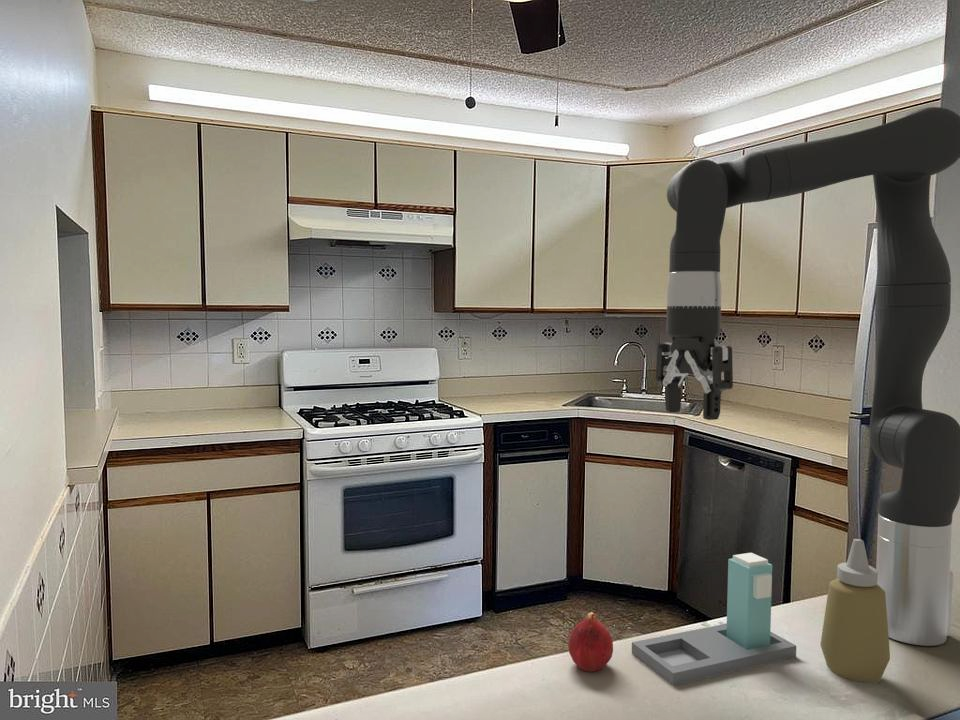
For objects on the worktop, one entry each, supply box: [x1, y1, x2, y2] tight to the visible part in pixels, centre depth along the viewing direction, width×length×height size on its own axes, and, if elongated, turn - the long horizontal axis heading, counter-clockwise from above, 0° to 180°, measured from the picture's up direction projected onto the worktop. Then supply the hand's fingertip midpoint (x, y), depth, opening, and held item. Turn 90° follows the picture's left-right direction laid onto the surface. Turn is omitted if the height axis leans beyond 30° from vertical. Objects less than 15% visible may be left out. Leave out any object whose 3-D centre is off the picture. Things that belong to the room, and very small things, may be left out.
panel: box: [631, 622, 797, 686], centre depth 97 cm, size 20×9×2 cm, turn 112°
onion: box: [567, 611, 614, 673], centre depth 93 cm, size 6×6×8 cm
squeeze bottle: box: [820, 538, 891, 684], centre depth 92 cm, size 8×8×18 cm
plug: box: [726, 552, 773, 650], centre depth 98 cm, size 4×5×13 cm
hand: (691, 415), depth 105 cm, fingers open, 8 cm apart
